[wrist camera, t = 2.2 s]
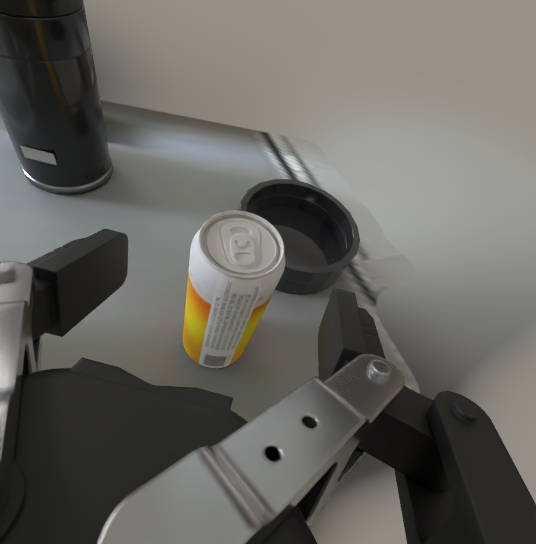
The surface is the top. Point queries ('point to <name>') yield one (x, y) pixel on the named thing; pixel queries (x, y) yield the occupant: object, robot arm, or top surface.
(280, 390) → the top surface
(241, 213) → the beer can
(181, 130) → the top surface
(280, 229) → the dark grey bowl
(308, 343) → the top surface
